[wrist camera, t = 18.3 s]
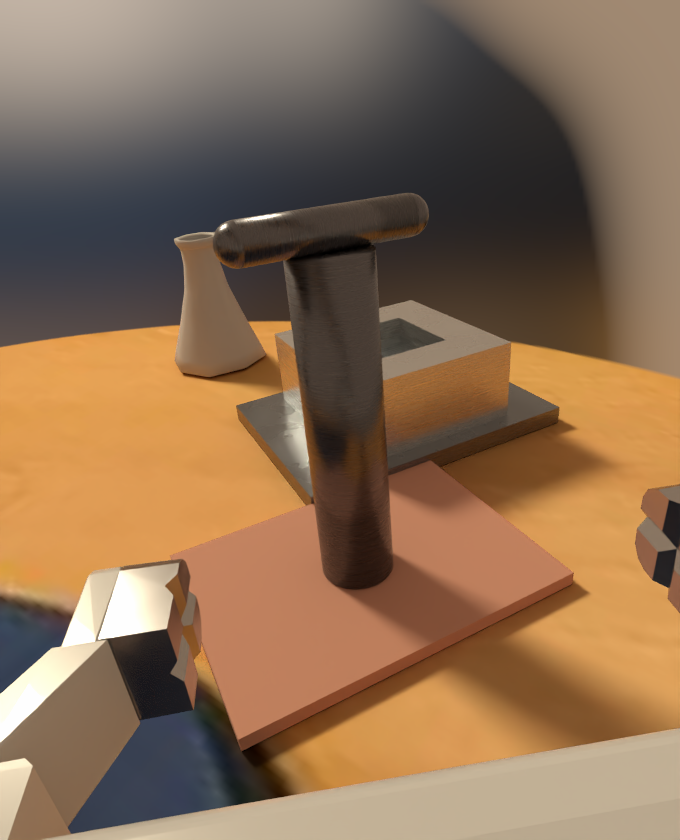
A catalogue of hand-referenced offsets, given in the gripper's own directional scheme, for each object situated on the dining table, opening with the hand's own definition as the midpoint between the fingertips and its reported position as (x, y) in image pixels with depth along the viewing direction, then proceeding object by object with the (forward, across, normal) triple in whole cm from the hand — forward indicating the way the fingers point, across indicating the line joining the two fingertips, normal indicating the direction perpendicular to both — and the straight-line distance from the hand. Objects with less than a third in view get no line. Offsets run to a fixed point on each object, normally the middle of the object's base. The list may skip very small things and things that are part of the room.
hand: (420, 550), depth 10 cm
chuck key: (+11, 0, +10) cm, 15 cm away
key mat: (+11, 0, +11) cm, 16 cm away
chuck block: (+24, -4, +11) cm, 27 cm away
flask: (+38, +8, +11) cm, 41 cm away
